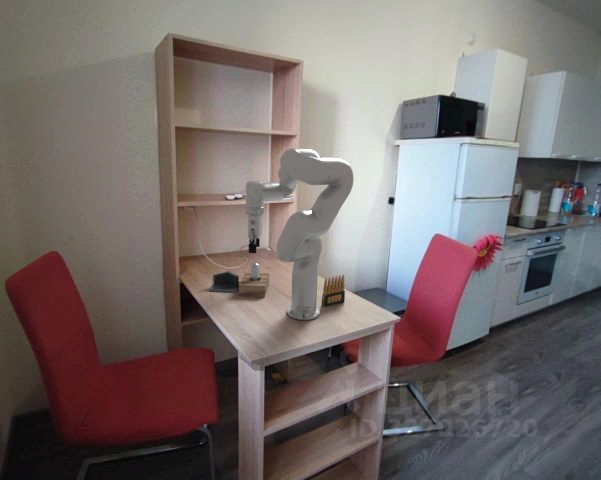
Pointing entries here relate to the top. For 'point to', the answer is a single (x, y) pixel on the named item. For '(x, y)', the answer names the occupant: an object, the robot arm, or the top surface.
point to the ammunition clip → (333, 291)
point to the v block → (225, 282)
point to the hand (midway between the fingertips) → (254, 249)
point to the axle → (254, 271)
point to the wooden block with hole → (254, 285)
